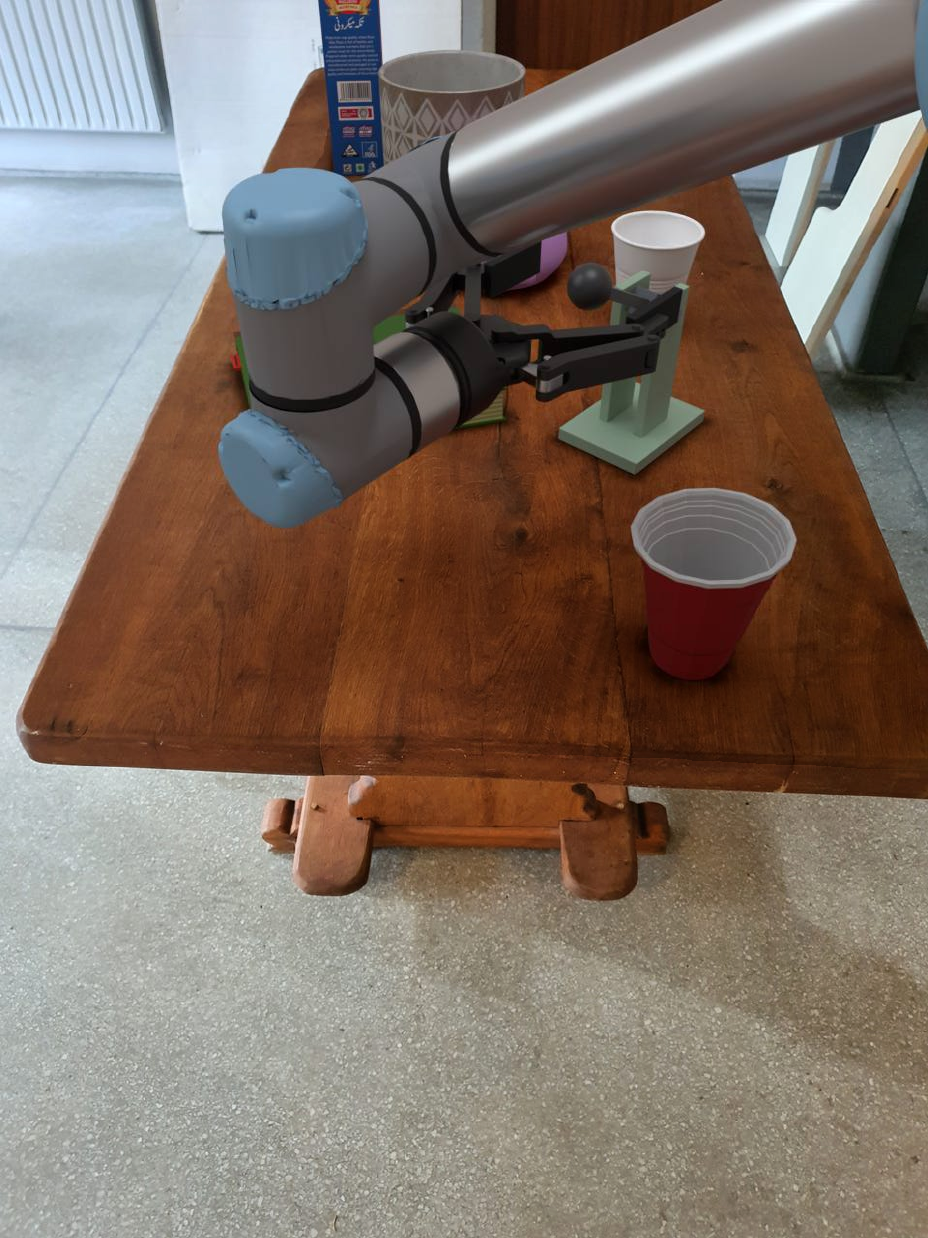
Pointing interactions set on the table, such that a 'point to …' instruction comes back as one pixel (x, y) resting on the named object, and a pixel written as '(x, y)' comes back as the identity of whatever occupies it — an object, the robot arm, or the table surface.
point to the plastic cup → (706, 573)
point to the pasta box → (353, 83)
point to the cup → (656, 247)
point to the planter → (442, 94)
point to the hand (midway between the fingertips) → (604, 278)
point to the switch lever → (602, 290)
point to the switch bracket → (636, 403)
